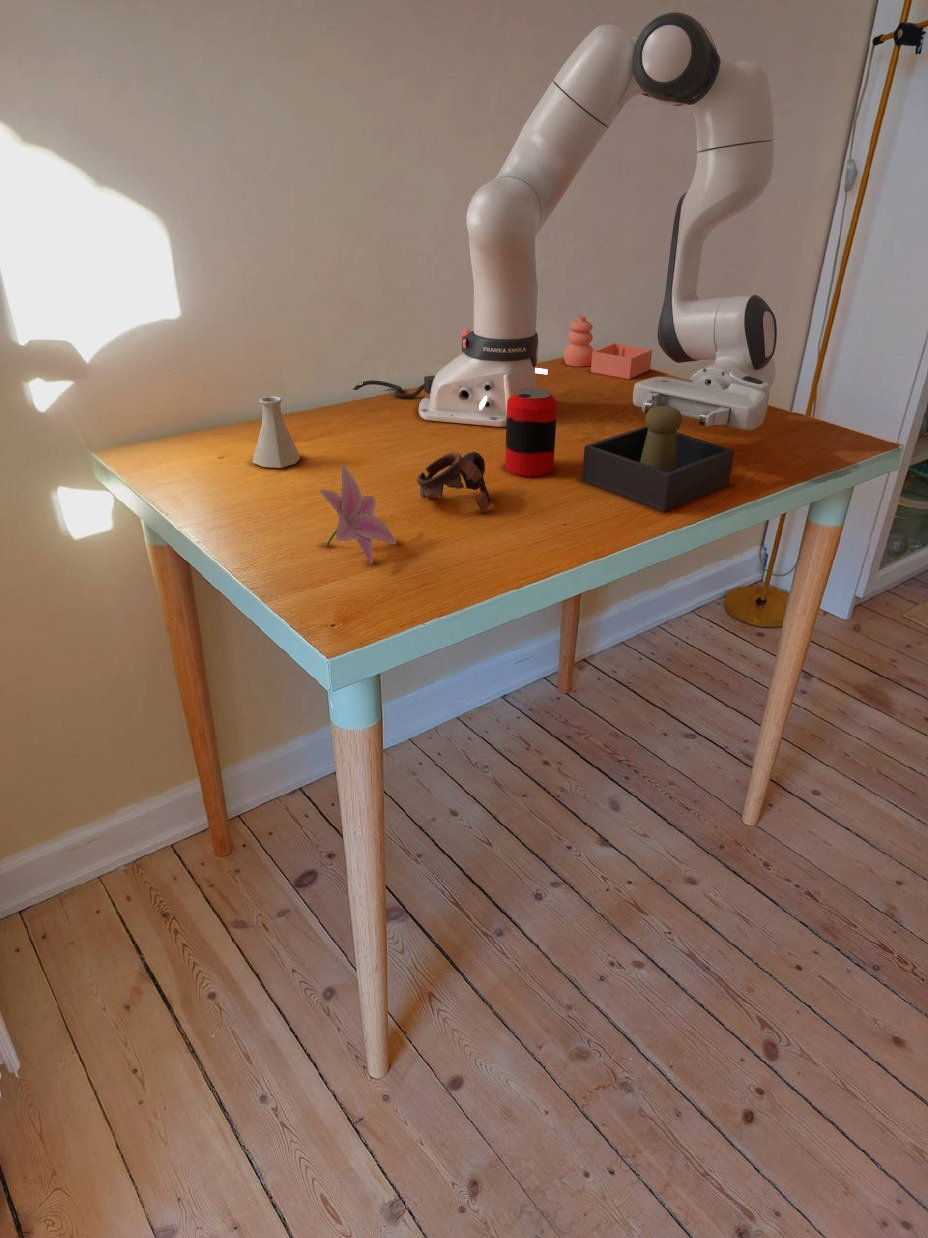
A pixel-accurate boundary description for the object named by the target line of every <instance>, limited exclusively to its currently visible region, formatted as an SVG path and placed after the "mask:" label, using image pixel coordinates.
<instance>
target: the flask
mask: <svg viewBox="0 0 928 1238" xmlns="http://www.w3.org/2000/svg"><path fill="white" fill-rule="evenodd" d="M282 401H283V398H282V397H279V396H272V395H271V396H264V397H261V398H260V399H259V405H261V409H262V418H261V426H260V431H259V436H258V440H257V443H256V447H255V450H254V454H253V457H252V463H253V464H255V465H258V466H260V467H261V468H262V467H263V468H276V469H282V468H285V467H288V466H291V465H295V464H296V463H297V462H298V461H299V460H300V458H301V454H300V452H299V450H298V448H297V446H296V444H295V443H294V440H293V438H292V435H291V434H290V432H289V429H288V427H287V425H286V423H285V420H284V417H283V413H282V407H281V403H282Z"/></svg>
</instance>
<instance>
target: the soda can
mask: <svg viewBox="0 0 928 1238" xmlns="http://www.w3.org/2000/svg"><path fill="white" fill-rule="evenodd" d="M557 414H558V401H557V400H556V397H554V395H553V394H552V392H551V391H550V390H548V389H545V388H540V387H537V388H521V389H517V390H515V391H514V393H513V394H512V395H511V397H510V398H509V399H508V400H507V418H506V426H505V454H504V467H505V469H506V471H507V472H509V473H510V474H512V475H515V476H518V477H524V478H536V477H537V478H538V477H543V476H546V475H549V474H550V473H551V472H552V471H553V469H554V464H555V463H554V462H555V448H556V434H557V433H556V430H557V418H558V417H557V416H558V415H557Z"/></svg>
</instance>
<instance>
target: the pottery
mask: <svg viewBox="0 0 928 1238" xmlns="http://www.w3.org/2000/svg"><path fill="white" fill-rule="evenodd" d="M569 329H570V330H571V331H570V332H569V333H568V336H567V339H568V342H569V343H570V344H568V345H567V347H566V348H565V349H564V353H563V358H564V364H566V365H568V366H570V367H590V372H591V373H594V374H600V375H605V376H611V377H615V378H621V379H627V380H631V379H633V378H635V377H637V376H639V375H642V374H643V373H645V372H648V371H650V370H651V363H652V357H653V356H652V355H653V349H651V348H645V347H639V346H632V345H627V344H621V343H616V342H614V343H611V344H609V345H606V346H603V347H601V348H598V349H595V350H594V348H593V347H592V346H591V343H592V342H593V338H594V336H593V334H592V332H591V331H592V330H593V324H592V323H591V322H590V321H588V320H587V316H586V315H578V316H577V320H574V321H572V322H570V325H569Z"/></svg>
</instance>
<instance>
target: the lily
mask: <svg viewBox="0 0 928 1238" xmlns="http://www.w3.org/2000/svg"><path fill="white" fill-rule="evenodd" d="M340 490H341V491H340V493H338V492H336V491H332V490H329V489H320V490H319V492H320V494H321V495H322V496H323V497H324V498H325V500H326V501H327V502H328V503H329V504H330V506H331V507H332V508H333V509H334V510H335V511H336V513H337V514H338V515H339V517H338V523H337V526H336V528H335V530H334V531H333V532H332V534H331V536H330V537H329V539H328V541H327V542H326V544H325V547H329V545H330V544H331V542H332V540H333V539H334V537H336V540H338V541H339V542H340V541H341V542H346V541H355V540H356V542H357V544H358V545H359V547H360V548H361V550H362V552H363V553H364V556H365V557H366V559H367V561H368V563H369V564H370V565H372V564H373V561H374V549H373V548H374V546H373V541H377V542H380V543H381V542H382V543H387V544H390V545H396V544H397V541H396V538H395V536H394V535H393V533H392V532H391V530H390V529H389V528H388V526H387V525H386V524H385V523H384V521H382V520H381V518H379V517H378V516H376V515H375V512H376V503H377V501H376V498H375V497H374V496H372V495H362V492H361V489H360V487H359V485H358V483H357V481H356V480H355V478H354V476H353V475H352V473H351V472H350V470H349V469H348V468H347V466H345V465H344V464H341V489H340Z"/></svg>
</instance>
